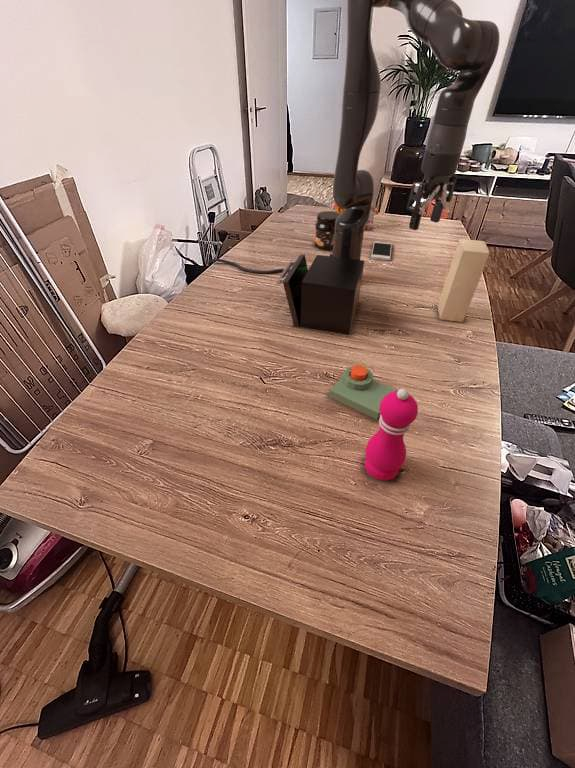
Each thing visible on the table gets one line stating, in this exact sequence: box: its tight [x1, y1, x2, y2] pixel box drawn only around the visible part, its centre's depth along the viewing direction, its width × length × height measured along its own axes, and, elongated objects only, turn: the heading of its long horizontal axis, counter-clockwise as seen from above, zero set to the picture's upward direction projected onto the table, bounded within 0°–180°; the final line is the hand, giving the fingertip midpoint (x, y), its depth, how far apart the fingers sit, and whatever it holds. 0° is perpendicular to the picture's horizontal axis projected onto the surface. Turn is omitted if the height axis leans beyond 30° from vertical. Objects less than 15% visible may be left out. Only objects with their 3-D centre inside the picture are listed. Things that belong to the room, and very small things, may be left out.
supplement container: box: [313, 210, 341, 251], centre depth 146 cm, size 10×10×12 cm
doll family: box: [331, 202, 380, 231], centre depth 161 cm, size 21×10×13 cm, turn 65°
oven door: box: [275, 254, 309, 327], centre depth 110 cm, size 4×18×14 cm, turn 164°
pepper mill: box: [364, 388, 419, 481], centre depth 65 cm, size 7×7×20 cm
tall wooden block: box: [437, 238, 490, 323], centre depth 105 cm, size 8×7×21 cm
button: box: [350, 364, 368, 381], centre depth 85 cm, size 4×4×2 cm
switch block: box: [328, 365, 397, 421], centre depth 84 cm, size 12×10×4 cm
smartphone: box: [370, 240, 393, 261], centre depth 146 cm, size 7×16×1 cm, turn 166°
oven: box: [299, 254, 365, 336], centre depth 107 cm, size 14×18×14 cm
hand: (424, 225), depth 92 cm, fingers open, 8 cm apart
